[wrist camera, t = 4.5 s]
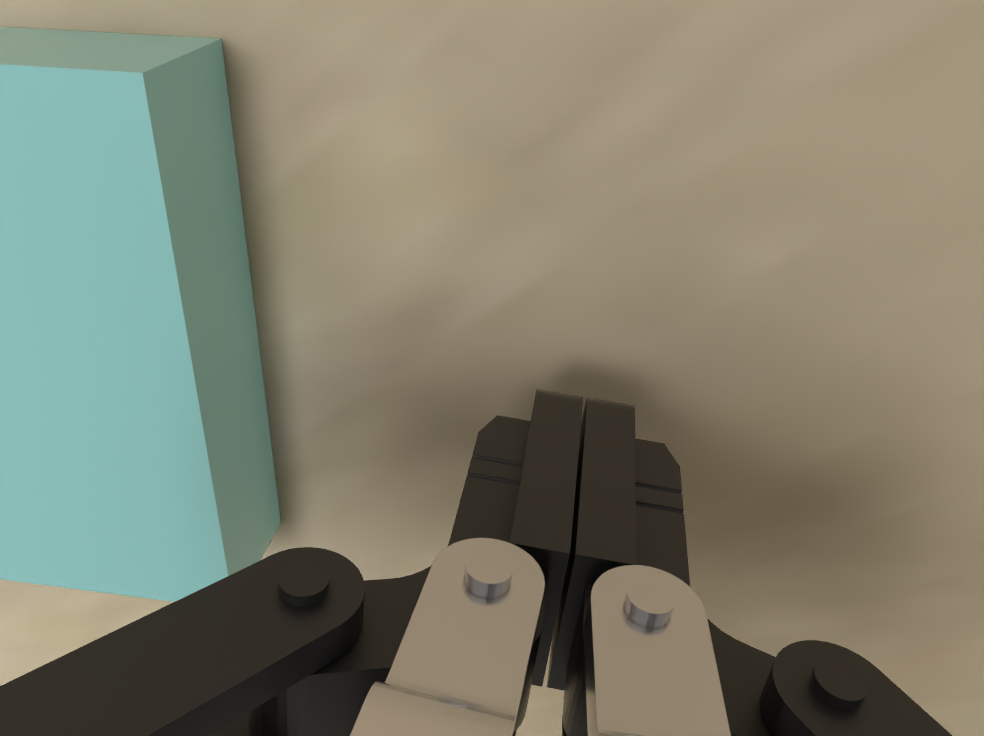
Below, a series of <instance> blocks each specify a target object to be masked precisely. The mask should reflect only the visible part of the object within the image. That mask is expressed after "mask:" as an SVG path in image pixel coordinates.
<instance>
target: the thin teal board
mask: <svg viewBox="0 0 984 736" xmlns="http://www.w3.org/2000/svg"><path fill="white" fill-rule="evenodd" d="M280 523H281V519H280V511H279V503H278V495H277V486H276V478H275V470H274V462H273V454H272V446H271V438H270V430H269V421H268V413H267V405H266V397H265V389H264V381H263V373H262V365H261V357H260V348H259V340H258V332H257V324H256V316H255V308H254V300H253V292H252V284H251V275H250V267H249V259H248V251H247V243H246V235H245V227H244V219H243V211H242V202H241V194H240V186H239V178H238V170H237V162H236V154H235V146H234V137H233V129H232V121H231V113H230V105H229V97H228V89H227V81H226V73H225V64H224V56H223V48H222V40H221V39H219V38H201V37H183V36H165V35H146V34H128V33H110V32H92V31H74V30H55V29H37V28H19V27H1V26H0V579H3V580H10V581H18V582H26V583H33V584H41V585H49V586H57V587H64V588H72V589H80V590H87V591H95V592H103V593H111V594H118V595H126V596H134V597H142V598H149V599H157V600H165V601H172V602H176V601H178V600H180V599H182V598H184V597H186V596H188V595H190V594H192V593H194V592H196V591H198V590H200V589H203V588H205V587H207V586H209V585H211V584H213V583H215V582H217V581H219V580H221V579H223V578H225V577H227V576H229V575H231V574H234V573H236V572H238V571H240V570H242V569H244V568H246V567H248V566H250V565H252V564H254V563H256V562H258V561H260V560H261V558H262V556H263V555H264V553H265V551H266V549H267V547H268V545H269V543H270V542H271V540H272V538H273V536H274V534H275V532H276V530H277V528H278V527H279V525H280Z"/></svg>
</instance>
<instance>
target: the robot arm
mask: <svg viewBox="0 0 984 736" xmlns="http://www.w3.org/2000/svg"><path fill="white" fill-rule="evenodd" d="M582 406H583V397H579V396H573V395H567V394H561V393H555V392H549V391H543V390H536V396H535V401H534V407H533V413H532V418H531V421H527V420H521V419H515V418H509V417H503V416H496V417H495V418H494V419H493V420H492V421H491V422H489V423H488V424H487V425H486V426H485V427H484V428H483V429H482V430H481V431H479V432H478V436H477V440H476V444H475V447H474V451H473V456H472V459H471V462H470V466H469V470H468V475H467V477H466V481H465V485H464V489H463V492H462V496H461V500H460V504H459V508H458V511H457V515H456V519H455V523H454V526H453V530H452V534H451V538H450V541H449V544H448V547H446V548H445V549H444V550H442V551H441V552H440V553H439V554H438V556H437V557H436V558H435V560H434V562H433V564H432V565H431V566H430V567H428V568H426V569H424V570H423V571H421V572H418V573H415V574H413V575H409V576H405V577H401V578H393V579H381V580H367V581H364V580H363V577H362V575H361V573H360V571H359V569H358V568H357V567H356V566H355V565H354V564H353V563H352V562H351V561H350V560H348V559H347V558H346V557H344V556H342V555H340V554H338V553H335V552H333V551H330V550H326V549H321V548H312V547H305V548H294V549H288V550H285V551H281V552H278V553H276V554H273V555H271V556H269V557H267V558H265V559H262V560H260V561H258V562H256V563H254V564H252V565H250V566H248V567H246V568H244V569H242V570H240V571H238V572H236V573H234V574H231V575H229V576H227V577H225V578H223V579H221V580H219V581H217V582H215V583H213V584H211V585H209V586H207V587H205V588H203V589H200V590H198V591H196V592H194V593H192V594H190V595H188V596H186V597H184V598H182V599H180V600H178V601H176V602H174V603H171V604H169V605H167V606H165V607H163V608H161V609H159V610H157V611H155V612H153V613H151V614H149V615H147V616H145V617H143V618H140V619H138V620H136V621H134V622H132V623H130V624H128V625H126V626H124V627H122V628H120V629H118V630H116V631H114V632H112V633H109V634H107V635H105V636H103V637H101V638H99V639H97V640H95V641H93V642H91V643H89V644H87V645H85V646H83V647H80V648H78V649H76V650H74V651H72V652H70V653H68V654H66V655H64V656H62V657H60V658H58V659H56V660H54V661H52V662H49V663H47V664H45V665H43V666H41V667H39V668H37V669H35V670H33V671H31V672H29V673H27V674H25V675H23V676H21V677H18V678H16V679H14V680H12V681H10V682H8V683H6V684H4V685H2V686H0V736H516V732H517V729H518V727H519V726H520V725H521V723H522V721H523V719H524V717H525V712H526V708H527V703H528V698H529V693H530V688H531V684H532V685H537V686H542V684H543V679H544V675H545V670H546V665H547V660H548V656H549V651H550V646H551V653H550V663H549V673H548V683H547V687H549V688H555V689H560V690H565V694H564V707H563V715H562V720H561V724H560V728H559V732H558V736H952V735H951V734H950V733H949V732H948V731H946V730H945V729H944V728H943V727H942V726H941V725H940V724H939V723H938V722H936V721H935V720H934V719H933V718H932V717H931V716H930V715H929V714H928V713H926V712H925V711H924V710H923V709H922V708H921V707H920V706H919V705H918V704H916V703H915V702H914V701H913V700H912V699H911V698H910V697H909V696H907V695H906V694H905V693H904V692H903V691H902V690H901V689H900V688H899V687H897V686H896V685H895V684H894V683H893V682H892V681H891V680H890V679H889V678H887V677H886V676H885V675H884V674H883V673H882V672H881V671H880V670H879V669H877V668H876V667H875V666H874V665H873V664H871V663H870V662H869V661H868V660H866V659H864V658H863V657H861V656H860V655H858V654H856V653H855V652H853V651H851V650H849V649H846V648H844V647H841V646H839V645H836V644H832V643H828V642H823V641H816V640H806V641H799V642H795V643H792V644H790V645H788V646H786V647H785V648H783V649H782V650H781V651H780V652H779V653H778V655H777V657H774V656H771V655H769V654H767V653H765V652H762V651H760V650H758V649H756V648H753V647H751V646H749V645H747V644H744V643H742V642H740V641H738V640H736V639H734V638H732V637H731V636H729V635H727V634H726V633H724V632H723V631H721V630H720V629H719V628H717V627H716V626H715V625H714V624H713V623H712V622H711V621H710V620H708V619H707V615H706V611H705V608H704V605H703V603H702V602H701V600H700V598H699V597H698V595H697V594H696V593H695V592H694V591H693V590H692V589H691V588H690V581H689V569H688V557H687V546H686V534H685V522H684V514H683V499H682V495H681V491H682V487H681V475H680V466H679V465H678V463H677V462H676V460H675V459H674V457H673V456H672V455H671V453H670V452H669V450H668V449H667V447H666V446H665V444H663V443H657V442H651V441H646V440H640V439H635V408H634V405H628V404H622V403H616V402H610V401H604V400H598V399H592V398H587V399H586V402H585V406H584V411H583V416H582ZM581 418H582V421H581ZM551 641H552V643H551Z"/></svg>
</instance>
